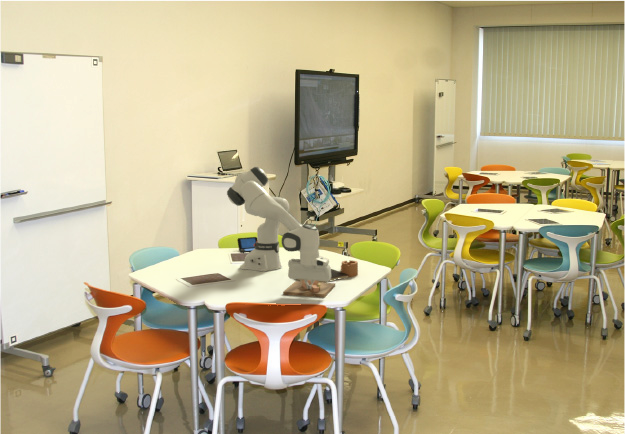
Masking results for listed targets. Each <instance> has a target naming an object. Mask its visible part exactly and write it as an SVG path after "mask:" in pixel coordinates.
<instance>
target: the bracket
mask: <svg viewBox="0 0 625 434" xmlns="http://www.w3.org/2000/svg"><path fill="white" fill-rule="evenodd" d="M358 262H359V261H357V260H349V261H348V260H342V261H341V265H340V272H342V273H345V274H348V278H353V277H354V276H355V277H358V275H359V270H358V269H359V266H358V265H359V264H358Z"/></svg>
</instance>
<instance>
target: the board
mask: <svg viewBox="0 0 625 434" xmlns="http://www.w3.org/2000/svg"><path fill="white" fill-rule="evenodd" d="M318 283H320V290H319V292H313V291H312V290H311V289H305V288H304V287H303V286H302V281H300V280H295V281H294V282H293V283H292V284H290V285H288V287H287V288H286V289H284V290H283V291H282V295H283V296H284V295H285V296H294V297H295V296H296V297H297V296H298V297H310V298H311V297H313V298H326V296H327V295H328V294H329V293H331V292H332V290H333V289H334V288H335V287H336V283H335V282H333V283H332V282H323V283H321V282H318Z"/></svg>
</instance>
